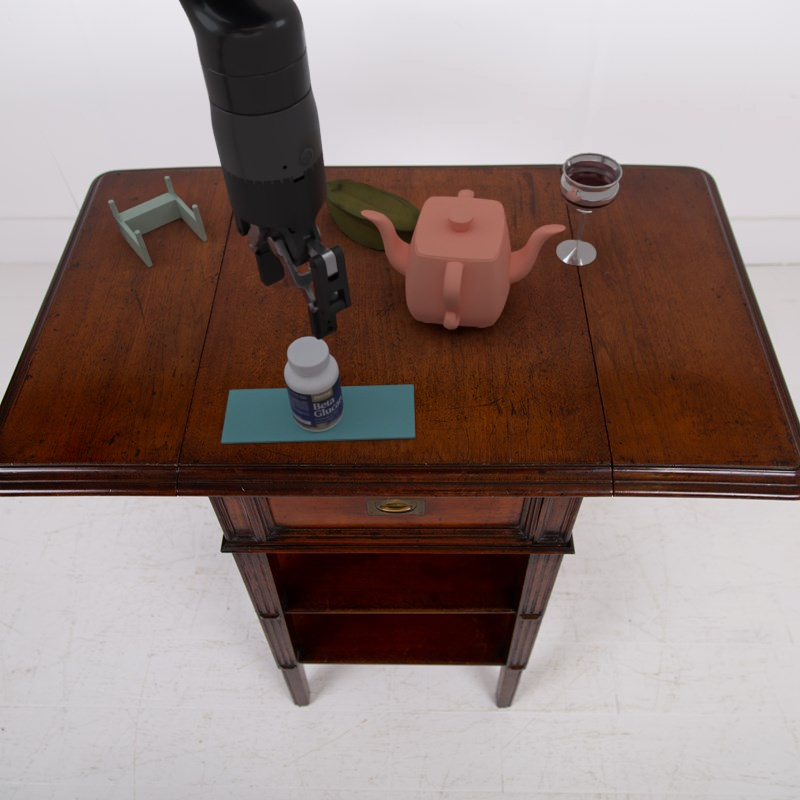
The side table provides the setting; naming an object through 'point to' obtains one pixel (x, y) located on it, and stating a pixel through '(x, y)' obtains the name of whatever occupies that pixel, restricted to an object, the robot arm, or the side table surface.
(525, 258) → the teapot
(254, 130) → the robot arm
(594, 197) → the wineglass
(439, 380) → the side table surface
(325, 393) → the pill bottle
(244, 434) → the strip
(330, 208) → the fruit
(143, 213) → the rack
